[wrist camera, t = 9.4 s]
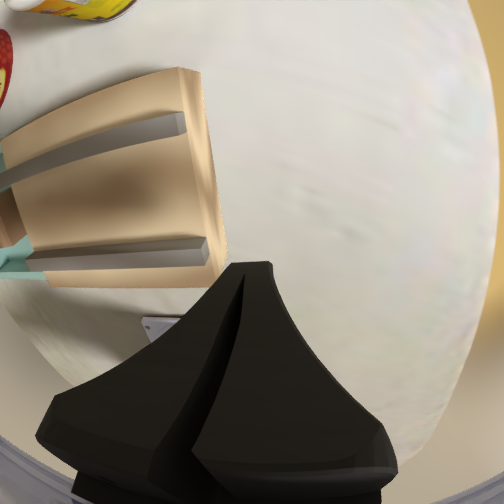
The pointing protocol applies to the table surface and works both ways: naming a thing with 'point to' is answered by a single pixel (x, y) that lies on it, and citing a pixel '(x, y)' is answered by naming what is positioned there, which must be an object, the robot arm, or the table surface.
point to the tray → (16, 252)
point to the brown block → (10, 220)
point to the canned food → (5, 63)
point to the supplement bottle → (76, 8)
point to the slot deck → (121, 187)
